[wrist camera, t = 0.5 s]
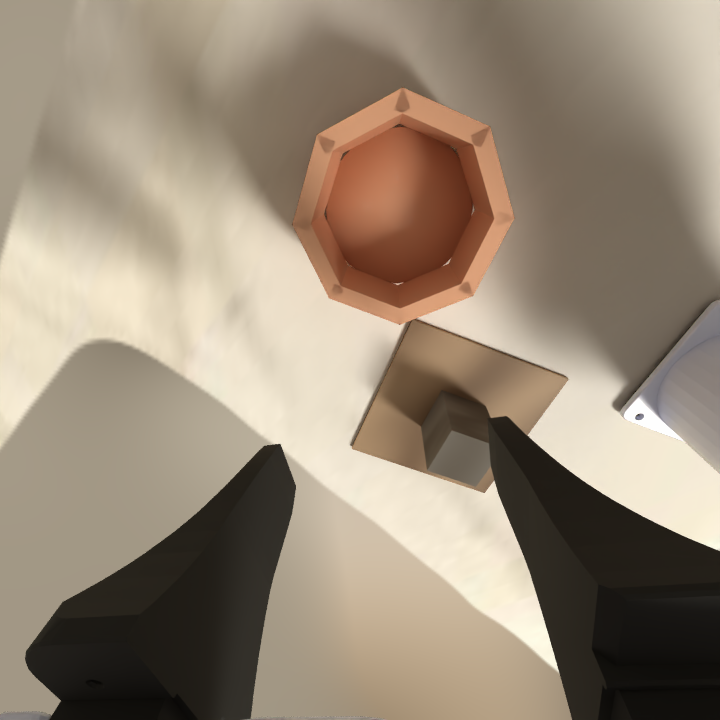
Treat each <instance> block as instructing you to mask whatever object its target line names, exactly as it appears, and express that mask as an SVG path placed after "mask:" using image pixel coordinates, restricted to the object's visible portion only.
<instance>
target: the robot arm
mask: <svg viewBox="0 0 720 720" xmlns="http://www.w3.org/2000/svg"><path fill="white" fill-rule="evenodd" d="M639 413H640V414H639ZM620 414H621V416H622V417H623V418H624V419H626V420H628V421H630V422H633V423H636V424H638V425H641V426H644V427H646V428H649V429H652V430H654V431H657V432H660V433H662V434H665V435H668V436H670V437H673V438H676V439H679V440H681V441H684V442H685V443H687V444H688V445H689V446H690V447H691V448H692V449H693V450H694V451H695V452H696V453H697V454H699V455H700V456H701V457H702V458H703V459H704V460H705V461H706V462H707V463H708V464H709V465H711V466H712V467H713V468H714V469H715V470H716V471H717V472H718V473H719V474H720V300H716V301H714V302H712V303H711V304H710V305H709V306H708V307H707V308H706V310H705V311H704V312H703V313H702V314H701V315H700V317H699V318H698V319H697V320H696V321H695V323H694V324H693V325H692V326H691V327H690V328H689V330H688V331H687V332H686V333H685V334H684V336H683V337H682V338H681V339H680V340H679V341H678V343H677V344H676V345H675V346H674V347H673V349H672V350H671V351H670V352H669V353H668V354H667V356H666V357H665V358H664V359H663V360H662V362H661V363H660V364H659V365H658V366H657V367H656V369H655V370H654V371H653V372H652V373H651V375H650V376H649V377H648V378H647V379H646V380H645V382H644V383H643V384H642V385H641V386H640V388H639V389H638V390H637V391H636V392H635V393H634V395H633V396H632V397H631V398H630V399H629V401H628V402H627V403H626V404H625V405H624V406H623V408H622V409H621V411H620ZM637 414H639V415H638V416H636V415H637ZM635 416H636V417H635ZM487 421H488V435H489V450H490V464H491V469H492V473H493V476H494V480H495V484H496V487H497V491H498V494H499V497H500V499H501V502H502V504H503V506H504V509H505V511H506V514H507V516H508V519H509V521H510V524H511V526H512V528H513V531H514V533H515V536H516V538H517V541H518V543H519V545H520V548H521V550H522V553H523V555H524V558H525V560H526V563H527V566H528V569H529V571H530V574H531V578H532V581H533V584H534V588H535V591H536V594H537V597H538V601H539V604H540V607H541V611H542V614H543V617H544V621H545V624H546V628H547V631H548V634H549V638H550V641H551V645H552V648H553V652H554V655H555V659H556V662H557V666H558V669H559V673H560V676H561V680H562V684H563V687H564V691H565V694H566V698H567V702H568V706H569V709H570V713H571V717H572V720H720V551H718V550H715V549H713V548H711V547H708V546H706V545H703V544H701V543H698V542H696V541H693V540H691V539H689V538H686V537H684V536H682V535H680V534H678V533H676V532H673V531H671V530H669V529H667V528H665V527H663V526H661V525H659V524H656V523H654V522H653V521H651V520H649V519H647V518H645V517H643V516H641V515H639V514H637V513H635V512H633V511H632V510H630V509H628V508H626V507H624V506H623V505H621V504H619V503H617V502H615V501H614V500H612V499H610V498H609V497H607V496H605V495H604V494H602V493H601V492H599V491H597V490H596V489H594V488H593V487H591V486H590V485H588V484H587V483H585V482H584V481H582V480H581V479H580V478H578V477H577V476H575V475H574V474H573V473H571V472H570V471H569V470H567V469H566V468H565V467H564V466H562V465H561V464H560V463H558V462H557V461H556V460H555V459H553V458H552V457H551V456H550V455H549V454H548V453H546V452H545V451H544V450H543V449H542V448H541V447H539V446H538V445H537V444H536V443H535V442H534V441H533V440H532V439H530V438H529V437H528V436H527V435H526V434H525V433H524V432H523V431H522V430H521V429H520V428H519V427H518V426H517V425H516V424H515V423H514V422H513V421H512V420H511V419H510V418H509V417H507V416H502V417H494V418H487ZM295 490H296V485H295V482H294V480H293V477H292V474H291V471H290V469H289V466H288V463H287V461H286V458H285V455H284V452H283V450H282V447H281V444H275V445H267V446H264V447H263V448H262V449H261V450H259V452H257V453H256V455H255V456H254V457H253V458H252V459H251V460H250V461H249V462H248V463H247V464H246V465H245V466H244V467H243V468H242V469H241V470H240V471H239V472H238V473H237V474H236V475H235V477H234V478H233V479H232V480H231V481H230V482H229V483H228V484H227V485H226V486H225V487H224V488H223V489H222V490H221V491H220V492H219V493H218V494H217V495H216V496H214V498H212V499H211V500H210V501H209V502H208V503H207V504H206V505H205V506H204V507H203V508H202V509H201V510H200V511H199V512H197V514H195V515H194V516H193V517H192V518H191V519H189V520H188V521H187V522H186V523H185V524H183V525H182V526H181V527H180V528H178V529H177V530H176V531H175V532H173V533H172V534H171V535H169V536H168V537H167V538H165V539H164V540H163V541H161V542H160V543H158V544H157V545H156V546H154V547H153V548H152V549H150V550H149V551H147V552H146V553H145V554H143V555H142V556H140V557H139V558H137V559H136V560H134V561H133V562H131V563H130V564H128V565H127V566H125V567H124V568H122V569H120V570H118V571H117V572H115V573H114V574H112V575H110V576H109V577H107V578H105V579H104V580H102V581H100V582H98V583H97V584H95V585H93V586H91V587H90V588H88V589H86V590H84V591H82V592H80V593H79V594H77V595H75V596H73V597H71V598H69V599H67V600H66V601H64V602H62V604H61V605H60V607H59V608H58V609H57V610H56V612H55V613H54V614H53V616H52V617H51V619H50V620H49V621H48V623H47V624H46V625H45V627H44V628H43V629H42V631H41V632H40V633H39V635H38V636H37V638H36V639H35V640H34V641H33V643H32V644H31V645H30V647H29V648H28V649H27V651H26V657H25V660H26V664H27V666H28V669H29V670H30V671H31V672H32V674H33V675H34V676H35V677H36V678H37V679H38V680H39V681H40V682H42V683H43V684H44V685H45V686H46V687H47V688H48V689H49V690H50V691H51V692H52V693H53V694H55V695H56V696H57V697H58V698H59V699H60V700H61V702H60V703H59V705H58V707H57V708H56V710H55V712H54V713H53V715H52V716H51V715H50V714H47V713H43V712H4V713H2V714H0V720H386V719H380V718H372V717H363V716H360V717H359V716H355V717H354V716H351V717H350V716H346V717H258V718H251V711H252V701H253V693H254V686H255V679H256V672H257V665H258V657H259V651H260V645H261V638H262V632H263V627H264V620H265V615H266V610H267V604H268V599H269V594H270V589H271V584H272V580H273V577H274V573H275V570H276V566H277V563H278V560H279V556H280V553H281V549H282V546H283V542H284V539H285V536H286V532H287V529H288V526H289V522H290V518H291V515H292V509H293V504H294V497H295Z"/></svg>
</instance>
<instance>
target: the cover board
mask: <svg viewBox="0 0 720 720" xmlns="http://www.w3.org/2000/svg"><path fill="white" fill-rule="evenodd" d="M567 381H568V378H567V377H565V376H562V375H559V374H557V373H554V372H552V371H549V370H546V369H544V368H541V367H538V366H536V365H533V364H531V363H528V362H525V361H523V360H520V359H517V358H515V357H512V356H510V355H507V354H504V353H502V352H499V351H496V350H494V349H491V348H489V347H486V346H483V345H481V344H478V343H475V342H473V341H470V340H468V339H465V338H462V337H460V336H457V335H455V334H452V333H449V332H447V331H444V330H441V329H439V328H436V327H434V326H431V325H428V324H426V323H423V322H420V321H418V320H415V319H413V320H411V322H410V324H409V327H408V329H407V331H406V333H405V335H404V337H403V339H402V341H401V344H400V346H399V348H398V350H397V352H396V354H395V356H394V358H393V361H392V363H391V365H390V367H389V369H388V371H387V373H386V375H385V378H384V380H383V382H382V384H381V386H380V388H379V390H378V392H377V395H376V397H375V399H374V401H373V403H372V405H371V407H370V409H369V412H368V414H367V416H366V418H365V420H364V422H363V424H362V426H361V429H360V431H359V433H358V435H357V437H356V439H355V441H354V443H353V446H352V449H354V450H357V451H360V452H363V453H366V454H369V455H372V456H375V457H378V458H381V459H384V460H387V461H390V462H393V463H396V464H399V465H402V466H405V467H408V468H411V469H414V470H417V471H420V472H423V473H426V474H429V475H432V476H435V477H438V478H441V479H444V480H447V481H450V482H453V483H456V484H459V485H462V486H465V487H468V488H471V489H474V490H477V491H480V492H483V493H485V492H486V490H487V489H488V488H489V486H490V485H491V484H492V482H493V481H494V476H493V473H492V469H491V464H490V450H489V435H488V421H487V418H494V417H502V416H507V417H509V418H510V419H511V420H512V421H513V422H514V423H515V424H516V425H517V426H518V427H519V428H520V429H521V430H522V431H523V432H524V433H525V434H526V435H528V434H529V432H530V431H531V430H532V428H533V427H534V425H535V424H536V423H537V421H538V420H539V419H540V417H541V416H542V415H543V413H544V412H545V411H546V409H547V408H548V407H549V405H550V404H551V402H552V401H553V400H554V398H555V397H556V396H557V394H558V393H559V392H560V390H561V389H562V388H563V386H564V385H565V384H566V382H567Z"/></svg>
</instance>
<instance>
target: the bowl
mask: <svg viewBox="0 0 720 720" xmlns="http://www.w3.org/2000/svg"><path fill="white" fill-rule="evenodd" d="M398 124H401V125H403V126H405V127H396V128H392V127H394V126H396V125H398ZM450 146H451V147H453V148H456V149H457V152H458V156H459V157H458V156H457V154H456V153H455V152H454V150H453V149H452V148H451V147H450ZM347 151H349V152H348V153H347V154H346V155H345V156H344V157H343V159H342V160H341V157H342V154H343V153H345V152H347ZM340 161H341V162H340ZM472 202H473V205H474V208H475V210H474V212H473V214H472ZM325 209H326V211H327V219H326V217H325V215H324V212H325ZM471 214H472V216H471ZM514 219H515V217H514V215H513V211H512V207H511V203H510V200H509V196H508V192H507V188H506V184H505V181H504V177H503V173H502V169H501V166H500V162H499V158H498V154H497V151H496V147H495V143H494V139H493V136H492V132H491V128H490V126H488V125H485V124H483V123H481V122H479V121H477V120H474V119H472V118H470V117H468V116H465V115H463V114H461V113H459V112H457V111H454V110H452V109H450V108H448V107H445V106H443V105H441V104H439V103H437V102H434V101H432V100H430V99H428V98H425V97H423V96H421V95H419V94H416V93H414V92H412V91H410V90H408V89H405V88H404V87H402V88H401V89H399V90H397V91H395V92H393V93H392V94H390V95H388V96H386V97H384V98H383V99H381V100H379V101H377V102H375V103H373V104H372V105H370V106H368V107H366V108H364V109H363V110H361V111H359V112H357V113H355V114H353V115H352V116H350V117H348V118H346V119H344V120H343V121H341V122H339V123H337V124H335V125H333V126H332V127H330V128H328V129H326V130H324V131H323V132H321V133H319V134H317V137H316V140H315V144H314V147H313V151H312V155H311V158H310V162H309V166H308V169H307V173H306V176H305V180H304V184H303V187H302V191H301V195H300V198H299V202H298V205H297V209H296V213H295V216H294V220H293V224H292V225H293V227H294V229H295V231H296V233H297V235H298V237H299V239H300V241H301V243H302V245H303V247H304V249H305V251H306V253H307V255H308V257H309V259H310V261H311V263H312V265H313V267H314V269H315V271H316V273H317V275H318V277H319V279H320V281H321V283H322V285H323V287H324V289H325V291H326V293H327V295H328V297H329V299H333V300H335V301H338V302H341V303H343V304H346V305H349V306H351V307H354V308H357V309H359V310H362V311H365V312H367V313H370V314H373V315H375V316H378V317H381V318H383V319H386V320H389V321H391V322H394V323H397V324H399V325H400V324H403V323H405V322H408V321H410V320H413V319H416V318H418V317H421V316H423V315H426V314H428V313H431V312H433V311H436V310H438V309H441V308H443V307H446V306H449V305H451V304H454V303H456V302H459V301H461V300H464V299H466V298H469V297H471V296H473V295H474V293H475V291H476V289H477V287H478V286H479V284H480V282H481V280H482V278H483V276H484V274H485V272H486V271H487V269H488V267H489V265H490V263H491V261H492V259H493V257H494V256H495V254H496V252H497V250H498V248H499V246H500V244H501V242H502V241H503V239H504V237H505V235H506V233H507V231H508V229H509V227H510V226H511V224H512V222H513V220H514ZM327 221H328V222H327ZM451 257H452V258H451ZM450 258H451V260H450V262H449V264H447V265H445V266H443V265H444V264H445V263H447V262H448V260H449V259H450ZM346 261H347V262H348V263H349V264H350V265H351V266H352V267H354V268H355V269H354V268H352V267H349V266H348V265H347V263H346ZM403 282H404V283H403ZM393 283H402V284H400V285H396V284H393Z"/></svg>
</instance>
